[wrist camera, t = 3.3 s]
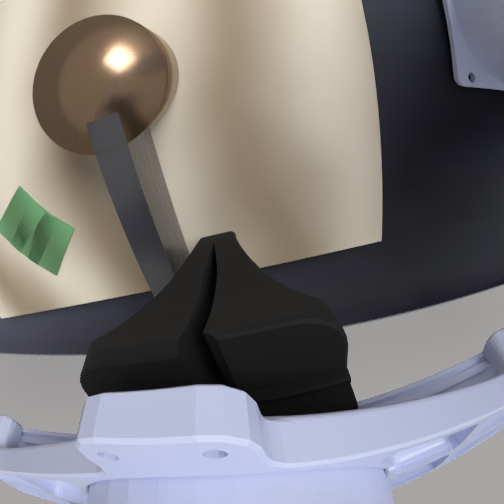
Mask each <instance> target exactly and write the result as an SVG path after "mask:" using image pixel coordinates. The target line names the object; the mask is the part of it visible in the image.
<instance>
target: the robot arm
mask: <svg viewBox="0 0 504 504" xmlns="http://www.w3.org/2000/svg"><path fill="white" fill-rule="evenodd" d="M442 1H443V6H444V11H445V16H446V21H447V27H448V33H449V40H450V47H451V55H452V64H453V75H454V80H455V81H456V83H457V84H458V85H460V86H464V87H475V88H486V89H495V90H503V91H504V0H442ZM469 74H470V80H469V78H468V75H469ZM347 355H348V342H347V336H346V334H345V332H344V329H343V328H342V326H341V324H340V322H339V321H338V319H337V318H336V316H335V315H334V314H333V312H332V311H331V310H330V308H329V307H328V306H327V305H326V303H325V302H324V301H323V300H321V299H318V298H314V297H311V296H308V295H305V294H302V293H299V292H297V291H295V290H292V289H290V288H288V287H287V286H285V285H283V284H281V283H280V282H278V281H276V280H275V279H274V278H272V277H271V276H269V275H268V274H267V273H266V272H264V271H263V270H262V269H261V268H260V267H259V266H258V265H257V264H256V263H255V262H254V261H253V260H252V259H251V258H250V257H249V256H248V255H247V253H246V252H245V251H244V250H243V248H242V247H241V245H240V244H239V242H238V240H237V238H236V234H235V233H234V232H233V231H229V232H224V233H220V234H216V235H211V236H207V237H202V238H200V240H199V241H198V243H197V244H196V246H195V247H194V249H193V250H192V252H191V253H190V255H189V256H188V258H187V259H186V261H185V262H184V264H183V265H182V266H181V268H180V269H179V270H178V271H177V273H176V274H175V275H174V277H173V278H172V279H171V280H170V282H169V283H168V284H167V285H166V286H165V287H164V288H163V289H162V290H161V291H160V292H159V293H158V295H157V296H156V297H154V298H153V299H152V300H151V301H150V302H149V303H148V304H147V305H145V306H144V307H143V308H142V309H141V310H140V311H139V312H137V313H136V314H135V315H133V316H132V317H131V318H130V319H128V320H127V321H125V322H124V323H122V324H121V325H120V326H118V327H117V328H115V329H113V330H112V331H110V332H108V333H107V334H105V335H103V336H101V337H100V338H98V339H96V340H94V341H93V342H91V344H90V347H89V350H88V353H87V356H86V359H85V363H84V366H83V369H82V372H81V377H80V382H81V385H82V387H83V389H84V391H85V392H86V393H87V395H88V396H89V397H87V399H86V401H85V404H84V406H83V410H82V414H81V419H80V423H79V427H78V432H77V434H66V433H56V432H47V431H38V430H32V429H25V428H22V426H21V425H20V424H19V423H18V422H16V421H15V420H14V419H12V418H10V417H8V416H4V415H0V480H2V481H3V482H5V483H7V484H9V485H10V486H12V487H14V488H16V489H17V490H19V491H22V492H24V493H27V494H30V495H33V496H37V497H39V498H42V499H46V500H48V501H52V502H55V503H58V504H395V503H394V500H393V497H392V493H391V490H392V489H395V488H397V487H399V486H402V485H404V484H406V483H408V482H410V481H412V480H415V479H417V478H419V477H421V476H423V475H425V474H427V473H429V472H431V471H433V470H435V469H437V468H439V467H441V466H443V465H444V464H446V463H448V462H450V461H452V460H453V459H455V458H457V457H459V456H460V455H462V454H464V453H465V452H467V451H469V450H470V449H472V448H473V447H475V446H477V445H478V444H480V443H482V442H483V441H485V440H486V439H488V438H489V437H491V436H492V435H494V434H495V433H497V432H498V431H500V430H501V429H502V428H504V328H503V329H501V330H499V331H497V332H495V333H494V334H493V335H492V336H491V337H490V338H489V339H488V341H487V342H486V344H485V347H484V349H483V352H482V353H480V354H478V355H476V356H474V357H472V358H470V359H468V360H466V361H464V362H461V363H460V364H457V365H455V366H453V367H451V368H448V369H446V370H444V371H442V372H439V373H437V374H434V375H432V376H430V377H427V378H425V379H422V380H420V381H418V382H415V383H412V384H409V385H407V386H404V387H401V388H399V389H396V390H393V391H390V392H387V393H384V394H381V395H378V396H375V397H372V398H369V399H366V400H363V401H359V402H357V401H356V398H355V395H354V392H353V389H352V387H351V384H350V383H351V377H350V374H349V371H348V369H347Z"/></svg>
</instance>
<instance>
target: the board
mask: <svg viewBox="0 0 504 504" xmlns="http://www.w3.org/2000/svg"><path fill="white" fill-rule="evenodd" d="M104 14H107V15H119V16H123V17H126V18H129V19H132V20H133V21H135V22H137V23H139V24H141V25H142V26H144V27H146V28H147V29H149V30H151V31H152V32H154V33H155V34H157V35H159V36H160V37H161V38H162V39H164V40H165V41H166V42H167V44H168V45H169V46H170V47H171V49H172V50H173V52H174V54H175V57H176V60H177V63H178V68H179V82H178V88H177V92H176V95H175V97H174V100H173V101H172V103H171V105H170V107H169V108H168V110H167V111H166V112H165V114H164V115H163V116H162V117H161V118H160V119H159V120H158V121H157V122H155V123H154V124H153V125H151V126H150V127H149V128H150V131H151V135H152V138H153V142H154V145H155V149H156V152H157V155H158V159H159V162H160V165H161V169H162V172H163V175H164V178H165V182H166V185H167V188H168V191H169V194H170V197H171V201H172V204H173V207H174V210H175V213H176V216H177V219H178V222H179V225H180V228H181V231H182V234H183V237H184V240H185V242H186V245H187V248H188V251H189V254H190V253H191V252H192V250H193V249H194V247H195V246H196V244H197V243H198V241H199V240H200V238H202V237H207V236H211V235H216V234H220V233H224V232H229V231H233V232H234V233H235V234H236V238H237V240H238V242H239V244H240V245H241V247H242V248H243V250H244V251H245V252H246V253H247V255H248V256H249V257H250V258H251V259H252V260H253V261H254V262H255V263H256V264H257V265H258V266H259V267H260V268H262V267H267V266H272V265H276V264H281V263H286V262H290V261H295V260H299V259H304V258H308V257H313V256H317V255H322V254H326V253H331V252H335V251H340V250H344V249H348V248H353V247H357V246H362V245H366V244H370V243H375V242H379V241H382V160H381V140H380V125H379V113H378V102H377V93H376V84H375V76H374V69H373V62H372V55H371V49H370V42H369V37H368V31H367V26H366V21H365V16H364V11H363V6H362V2H361V0H0V317H1V318H8V317H13V316H19V315H25V314H30V313H36V312H41V311H47V310H52V309H58V308H63V307H68V306H74V305H79V304H84V303H90V302H95V301H100V300H105V299H111V298H116V297H121V296H126V295H131V294H136V293H141V292H146V291H151V290H150V288H149V286H148V284H147V282H146V279H145V277H144V275H143V273H142V271H141V269H140V266H139V264H138V262H137V260H136V257H135V255H134V253H133V251H132V248H131V246H130V244H129V241H128V239H127V236H126V234H125V232H124V229H123V227H122V224H121V222H120V219H119V217H118V215H117V212H116V209H115V207H114V204H113V202H112V199H111V196H110V194H109V191H108V188H107V186H106V183H105V180H104V178H103V175H102V172H101V169H100V166H99V163H98V160H97V157H96V155H82V154H77V153H73V152H70V151H68V150H65V149H63V148H62V147H60V146H58V145H57V144H56V143H55V142H53V141H52V140H51V139H50V138H49V137H48V136H47V135H46V133H45V132H44V130H43V129H42V127H41V126H40V124H39V122H38V119H37V117H36V114H35V110H34V106H33V96H32V93H33V81H34V76H35V72H36V69H37V66H38V64H39V61H40V59H41V57H42V55H43V54H44V52H45V50H46V49H47V47H48V46H49V45H50V43H51V42H52V41H53V40H54V39H55V38H56V37H57V36H58V35H59V34H60V33H61V32H62V31H64V30H65V29H66V28H68V27H69V26H71V25H72V24H74V23H76V22H78V21H80V20H83V19H85V18H88V17H92V16H96V15H104Z"/></svg>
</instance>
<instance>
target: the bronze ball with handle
mask: <svg viewBox="0 0 504 504" xmlns="http://www.w3.org/2000/svg"><path fill="white" fill-rule="evenodd" d="M178 82H179V68H178V63H177V60H176V57H175V54H174V52H173V50H172V49H171V47H170V46H169V45H168V44H167V42H166V41H165V40H164V39H162V38H161V37H160V36H159V35H157V34H155V33H154V32H152V31H151V30H149V29H147V28H146V27H144V26H142V25H141V24H139V23H137V22H135V21H133V20H132V19H129V18H126V17H123V16H119V15H107V14H104V15H96V16H92V17H88V18H85V19H83V20H80V21H78V22H76V23H74V24H72V25H71V26H69V27H68V28H66V29H65V30H64V31H62V32H61V33H60V34H59V35H58V36H57V37H56V38H55V39H54V40H53V41H52V42H51V43H50V45H49V46H48V47H47V49H46V50H45V52H44V54H43V55H42V57H41V59H40V61H39V64H38V66H37V69H36V72H35V76H34V81H33V93H32V96H33V106H34V110H35V114H36V117H37V119H38V122H39V124H40V126H41V127H42V129H43V130H44V132H45V133H46V135H47V136H48V137H49V138H50V139H51V140H52V141H53V142H55V143H56V144H57V145H58V146H60V147H62V148H63V149H65V150H68V151H70V152H73V153H77V154H82V155H96V157H97V160H98V163H99V166H100V169H101V172H102V175H103V178H104V180H105V183H106V186H107V188H108V191H109V194H110V196H111V199H112V202H113V204H114V207H115V209H116V212H117V215H118V217H119V219H120V222H121V224H122V227H123V229H124V232H125V234H126V236H127V239H128V241H129V244H130V246H131V248H132V251H133V253H134V255H135V257H136V260H137V262H138V264H139V266H140V269H141V271H142V273H143V275H144V277H145V279H146V282H147V284H148V286H149V288H150V290H151V292H152V294H153V296H154V297H156V296H157V295H158V293H159V292H160V291H161V290H162V289H163V288H164V287H165V286H166V285H167V284H168V283H169V282H170V280H171V279H172V278H173V277H174V275H175V274H176V273H177V271H178V270H179V269H180V268H181V266H182V265H183V264H184V262H185V261H186V259H187V258H188V256H189V255H190V254H189V251H188V248H187V245H186V242H185V240H184V237H183V234H182V231H181V228H180V225H179V222H178V219H177V216H176V213H175V210H174V207H173V204H172V201H171V197H170V194H169V191H168V188H167V185H166V182H165V178H164V175H163V172H162V169H161V165H160V162H159V159H158V155H157V152H156V149H155V145H154V142H153V138H152V135H151V131H150V128H149V127H150V126H151V125H153V124H154V123H155V122H157V121H158V120H159V119H160V118H161V117H162V116H163V115H164V114H165V112H166V111H167V110H168V108H169V107H170V105H171V103H172V101H173V100H174V97H175V95H176V92H177V88H178Z"/></svg>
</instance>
